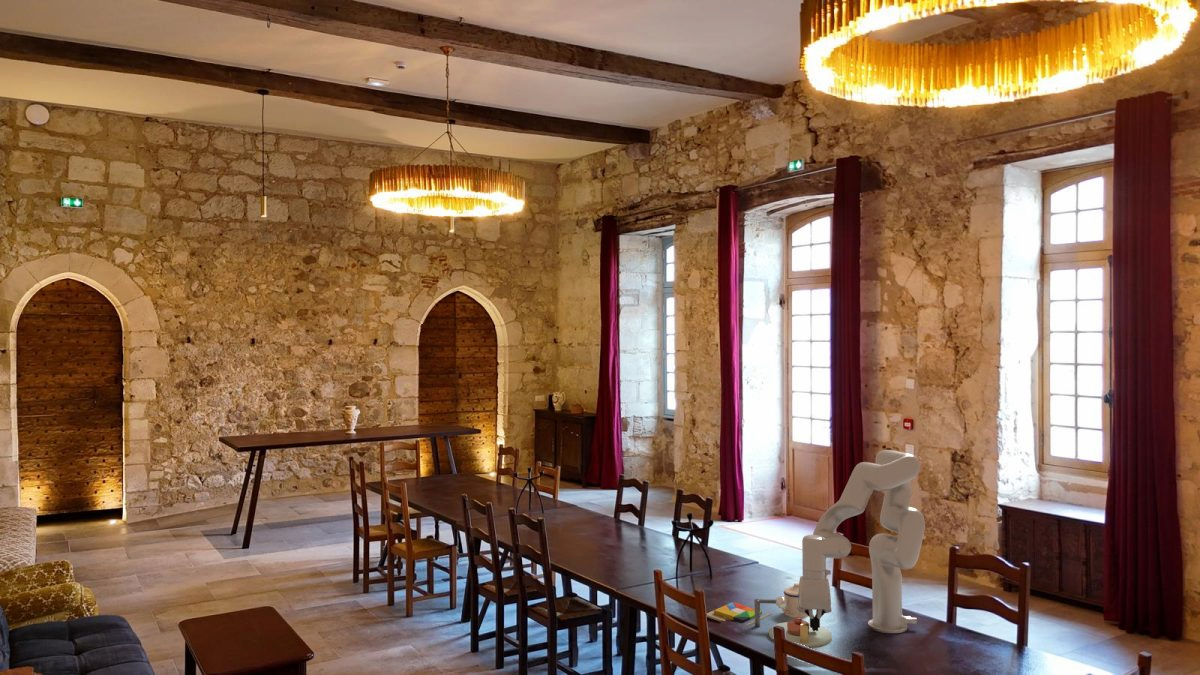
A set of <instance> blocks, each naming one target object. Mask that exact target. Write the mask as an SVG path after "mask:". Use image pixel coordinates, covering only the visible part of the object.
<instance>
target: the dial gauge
mask: <svg viewBox="0 0 1200 675" xmlns="http://www.w3.org/2000/svg"><path fill="white" fill-rule="evenodd" d="M753 601H754V609H755V618H754V620H755V623H754V627H755V628H761V620H760V617H761V615H760V611H761V608H760V607H761V604H773V605H774V604H776V606H777V608H779V609H781V608H784V609H785V607H786V605H787V601H786V599H785V598H784V596H778V597H777V598H776V599H759V598H755V599H754V600H753Z"/></svg>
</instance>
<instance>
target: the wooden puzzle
mask: <svg viewBox="0 0 1200 675" xmlns="http://www.w3.org/2000/svg"><path fill="white" fill-rule="evenodd" d="M706 614H707V617H706V618H708V619H710V620H715V621H717V622H720V623H721V622H722V621H723V622H726V620H728V621H735V622H739V623H741V624H742V623H743V624H744V623H746V622H748V621H751V620H752V619H754V620H752V621H751V622H748V623H746V625H745V627H750V626H751V625H755V608H751V607H749V606H747V605H743V604H741V603H738V602H735V601H732V602H729V603H727V604H725V605H723V606H721V607H719V608H716V609H714V610H712V611H710V612H708V613H706ZM761 615H762V616H761ZM771 615H772V613H771V612H769V613H767V614H765V615H763V611H761V610H760V621H762V620H764V619H766V618H767V617H770V616H771Z"/></svg>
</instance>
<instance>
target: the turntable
mask: <svg viewBox="0 0 1200 675" xmlns="http://www.w3.org/2000/svg"><path fill="white" fill-rule="evenodd" d="M787 622H788V621H786V622H779V623H777V624H774V625H772V626H770V627H769V629H768V636H769V638H770V639H771V640H772V641H774V640H773V631H772V629H773V626H775V625H778V626H782V627H784V628H785V631H786V639H788V640H790V641H792V642H796V643H799V644H802V645H805V646H808V647H809V648H819V647H823V646H826V645H828V644H830V643H831V642H832V638H833V635H832V632H831V630H829V629H828V628H826V627H825V626H823V625H820V628H818V631H816V630H815V631H813V630H812V628H810V622H808V623H809V634H808V626H807V625H801V626H800V636H794V635H790V634H788V633H787Z"/></svg>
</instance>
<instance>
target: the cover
mask: <svg viewBox="0 0 1200 675" xmlns="http://www.w3.org/2000/svg"><path fill="white" fill-rule="evenodd" d="M786 622H787V633H788V634H790V635H794V636H800V626H801V625H807V626H808V634H809V623H810V622H808V621H806V620H803V618H800V617H795V618H794V617H793V619H791V620H788V621H786Z"/></svg>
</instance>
